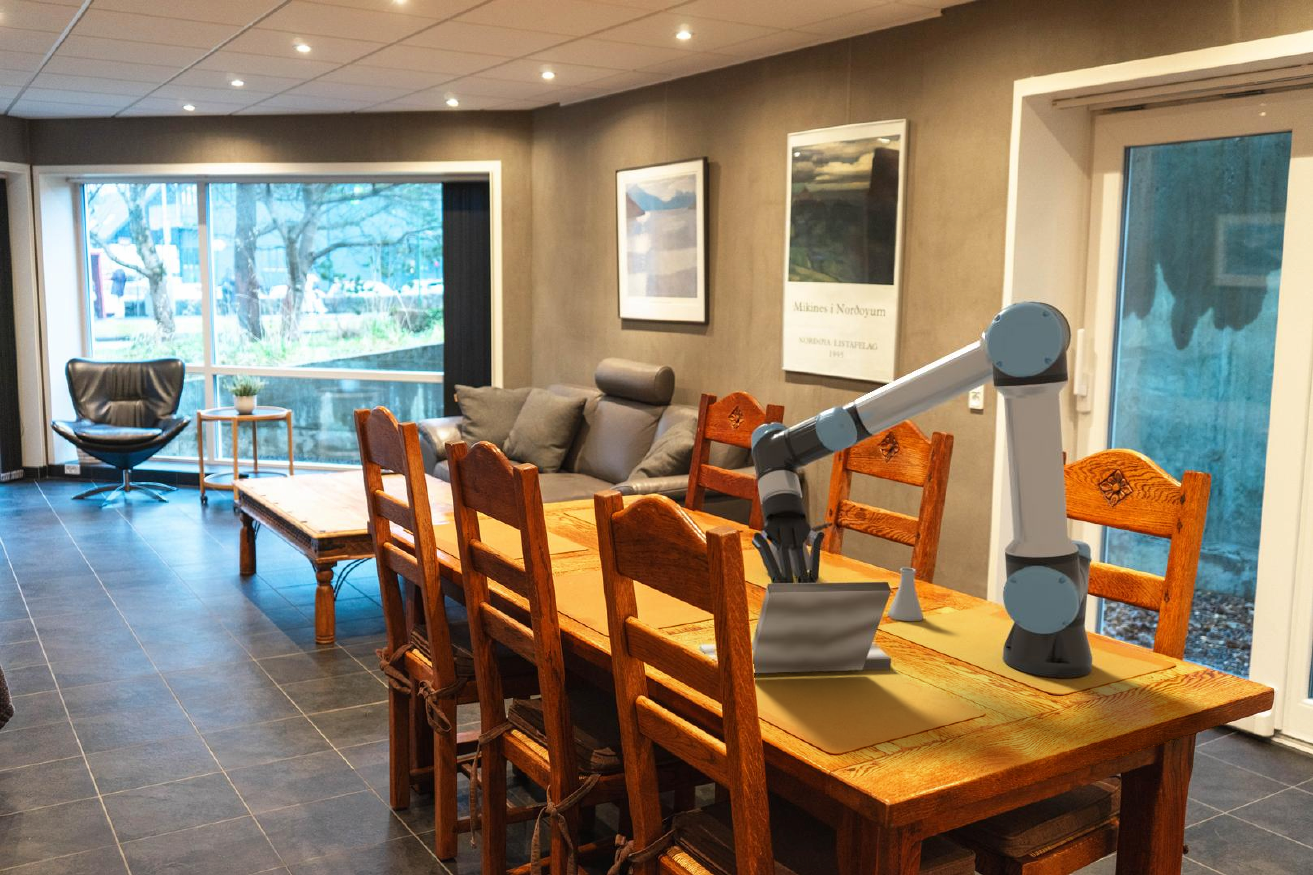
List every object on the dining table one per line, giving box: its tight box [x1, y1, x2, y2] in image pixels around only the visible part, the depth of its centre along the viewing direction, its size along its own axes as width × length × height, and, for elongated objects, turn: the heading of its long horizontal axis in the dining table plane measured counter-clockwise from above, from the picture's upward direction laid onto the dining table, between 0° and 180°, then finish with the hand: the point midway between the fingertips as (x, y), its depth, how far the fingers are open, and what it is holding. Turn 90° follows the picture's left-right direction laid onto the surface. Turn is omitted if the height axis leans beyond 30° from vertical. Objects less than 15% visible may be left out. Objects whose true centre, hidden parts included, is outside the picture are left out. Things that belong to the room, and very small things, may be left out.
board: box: [699, 641, 892, 675], centre depth 195 cm, size 10×32×2 cm, turn 99°
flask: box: [886, 567, 924, 622], centre depth 224 cm, size 7×7×10 cm
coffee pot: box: [762, 522, 837, 578], centre depth 252 cm, size 21×12×15 cm, turn 30°
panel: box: [751, 581, 892, 674], centre depth 183 cm, size 20×20×2 cm
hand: (803, 622), depth 184 cm, fingers closed
